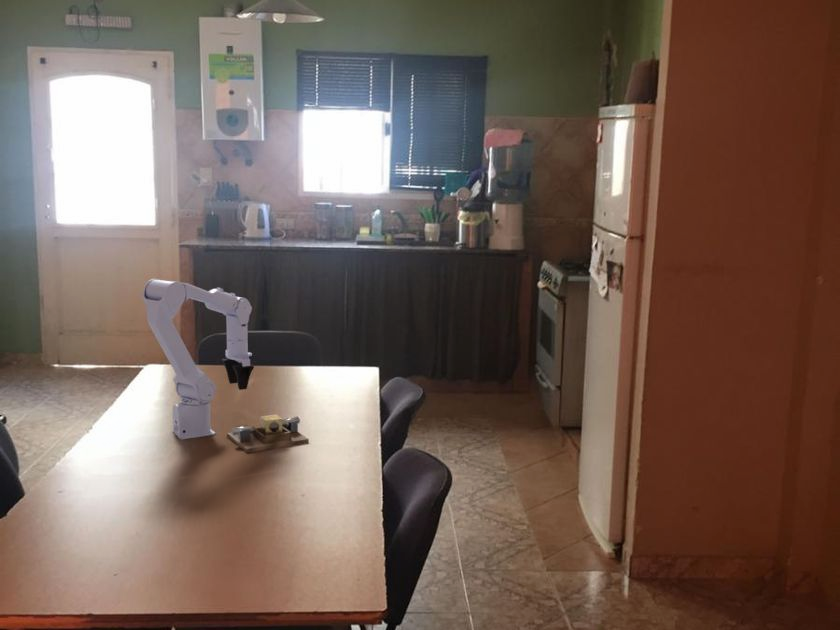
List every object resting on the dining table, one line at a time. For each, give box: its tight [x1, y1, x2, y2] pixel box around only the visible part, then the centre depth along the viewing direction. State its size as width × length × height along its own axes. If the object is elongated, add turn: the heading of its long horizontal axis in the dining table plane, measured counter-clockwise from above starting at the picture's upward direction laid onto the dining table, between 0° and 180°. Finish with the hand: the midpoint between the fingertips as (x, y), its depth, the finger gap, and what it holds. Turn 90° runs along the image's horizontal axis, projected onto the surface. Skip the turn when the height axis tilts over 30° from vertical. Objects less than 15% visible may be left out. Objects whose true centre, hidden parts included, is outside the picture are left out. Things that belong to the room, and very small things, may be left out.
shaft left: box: [231, 425, 256, 443], centre depth 226 cm, size 6×4×4 cm, turn 110°
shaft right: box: [282, 416, 301, 434], centre depth 234 cm, size 5×4×4 cm
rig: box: [226, 426, 309, 454], centre depth 230 cm, size 17×15×3 cm
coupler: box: [259, 413, 283, 436], centre depth 229 cm, size 5×4×6 cm
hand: (238, 386), depth 246 cm, fingers open, 7 cm apart
